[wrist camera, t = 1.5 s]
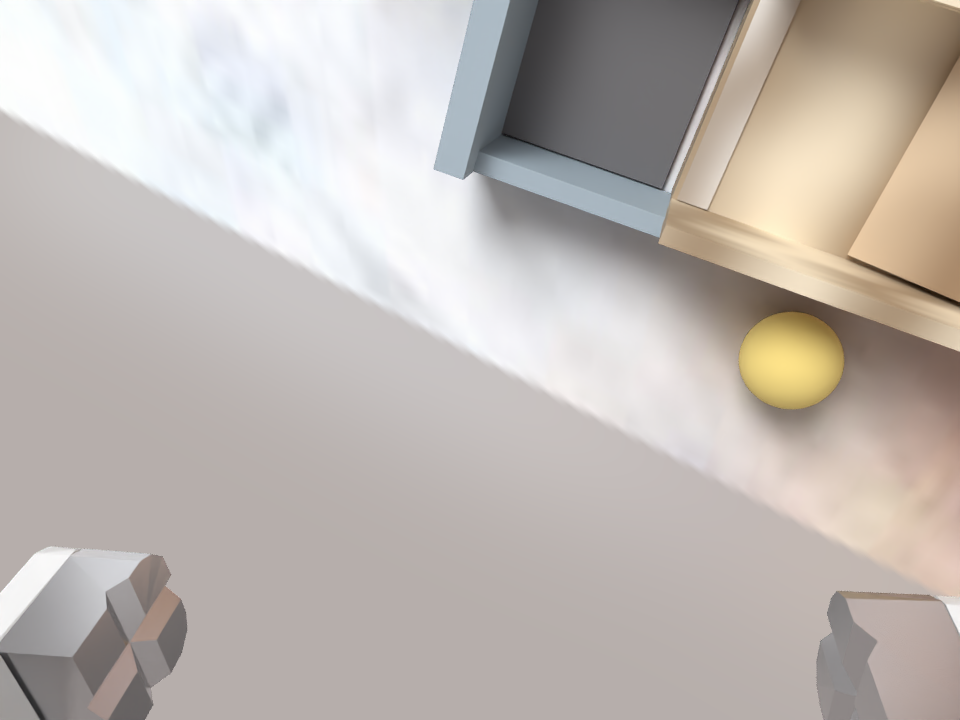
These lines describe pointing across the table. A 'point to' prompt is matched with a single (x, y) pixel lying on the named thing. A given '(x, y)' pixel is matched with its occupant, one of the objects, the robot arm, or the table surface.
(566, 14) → the light blue open bin
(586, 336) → the table surface
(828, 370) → the ball
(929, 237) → the tan wooden tray
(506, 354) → the table surface
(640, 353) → the table surface
